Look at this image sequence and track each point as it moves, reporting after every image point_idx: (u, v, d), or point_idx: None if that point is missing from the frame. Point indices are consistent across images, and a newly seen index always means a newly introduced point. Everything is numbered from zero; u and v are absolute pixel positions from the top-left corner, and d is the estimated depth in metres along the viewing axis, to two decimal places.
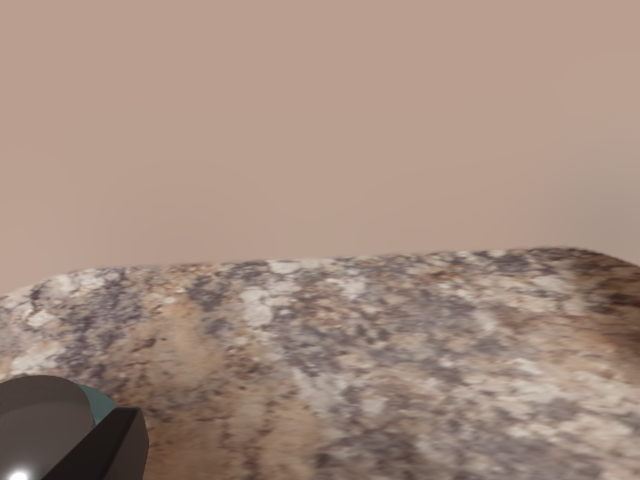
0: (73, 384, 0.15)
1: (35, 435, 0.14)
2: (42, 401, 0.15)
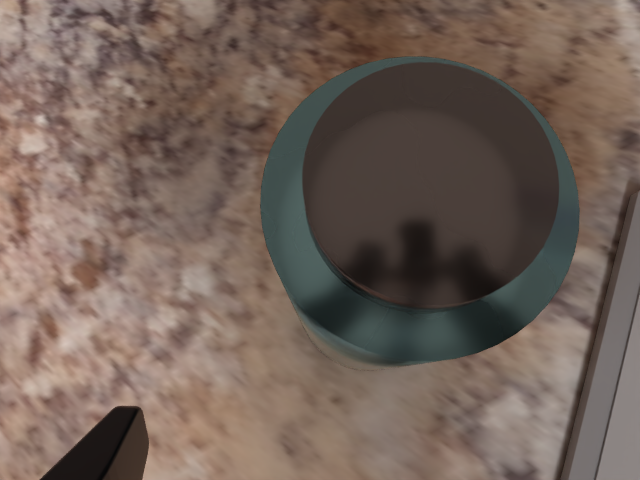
0: (521, 104, 0.08)
1: (470, 202, 0.08)
2: (471, 129, 0.08)
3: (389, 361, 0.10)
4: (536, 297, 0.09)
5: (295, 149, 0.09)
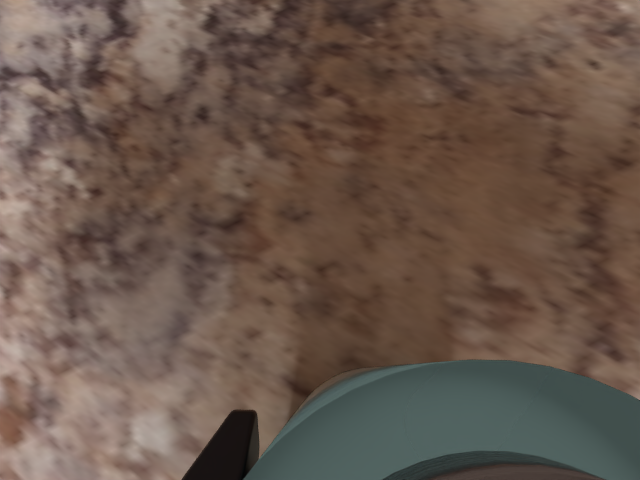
0: None
1: None
2: None
3: None
4: None
5: None
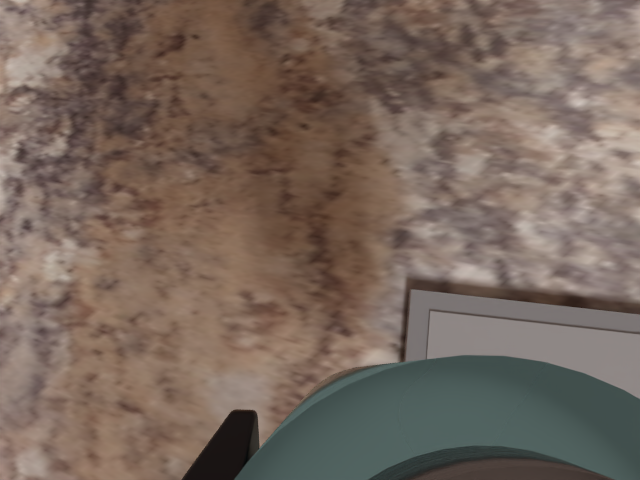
0: None
1: None
2: None
3: None
4: None
5: None
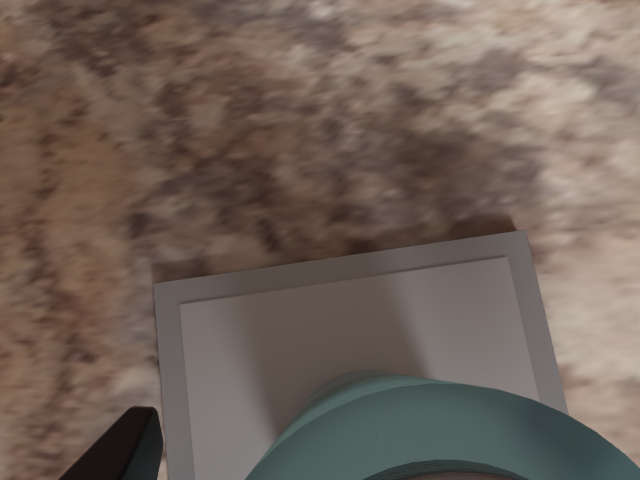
0: None
1: None
2: None
3: None
4: None
5: None
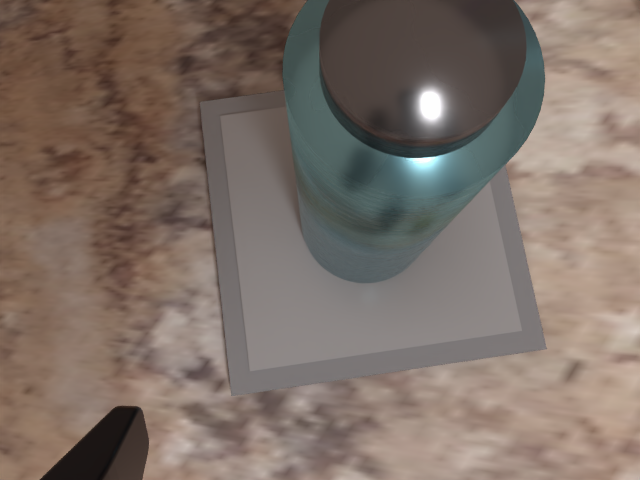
0: None
1: (455, 59, 0.10)
2: (456, 2, 0.10)
3: (388, 213, 0.12)
4: (508, 146, 0.11)
5: (311, 29, 0.11)
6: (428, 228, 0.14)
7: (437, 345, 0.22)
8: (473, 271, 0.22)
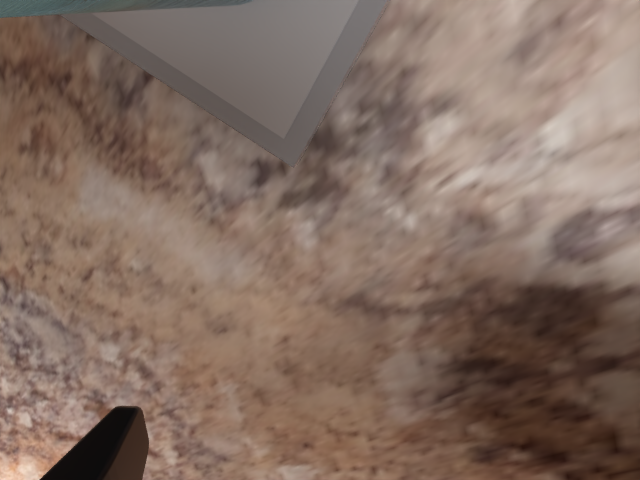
0: None
1: None
2: None
3: None
4: None
5: None
6: None
7: None
8: None
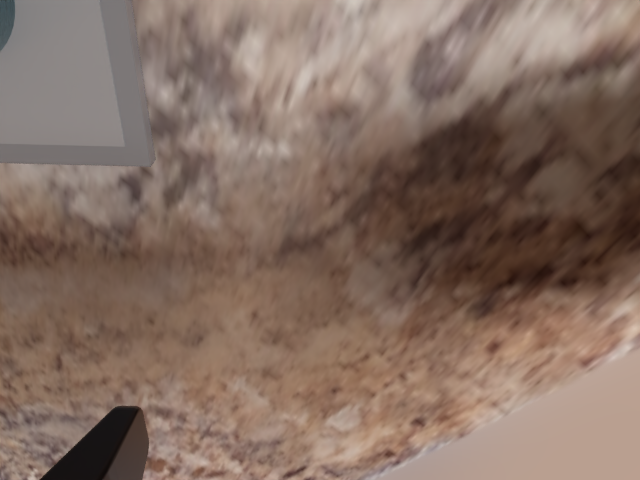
0: None
1: None
2: None
3: None
4: None
5: None
6: None
7: None
8: None
